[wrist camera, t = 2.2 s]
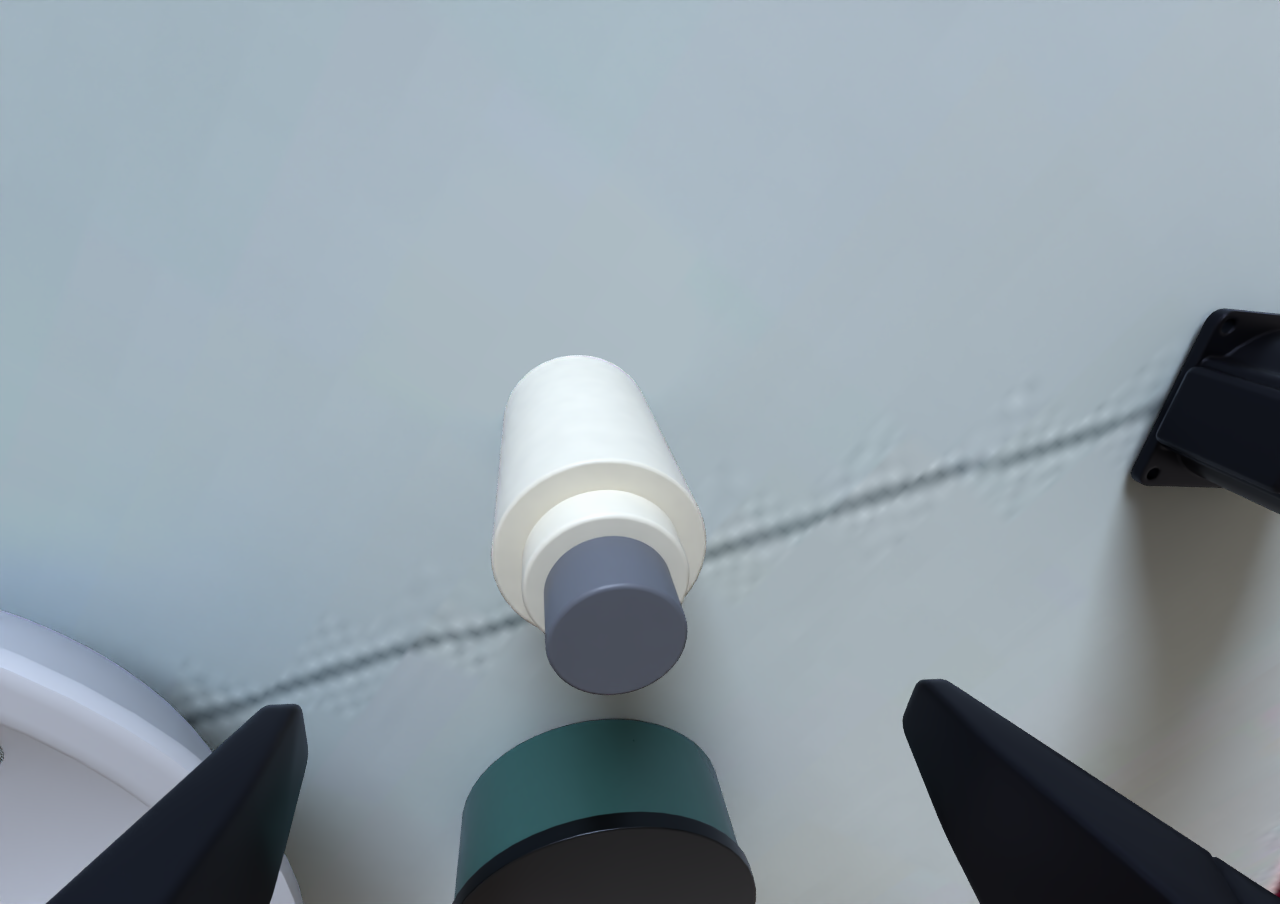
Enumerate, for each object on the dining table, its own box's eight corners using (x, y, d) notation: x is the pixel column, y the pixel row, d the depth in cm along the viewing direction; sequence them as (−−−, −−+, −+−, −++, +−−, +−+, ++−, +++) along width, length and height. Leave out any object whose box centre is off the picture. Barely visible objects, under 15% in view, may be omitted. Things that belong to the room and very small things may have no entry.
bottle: (656, 359, 18) (768, 532, 10) (639, 489, 20) (722, 731, 12) (504, 349, 17) (483, 530, 9) (501, 486, 19) (481, 745, 11)
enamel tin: (743, 708, 25) (784, 814, 21) (700, 879, 30) (728, 993, 26) (455, 722, 23) (439, 845, 19) (458, 905, 28) (446, 1034, 24)
